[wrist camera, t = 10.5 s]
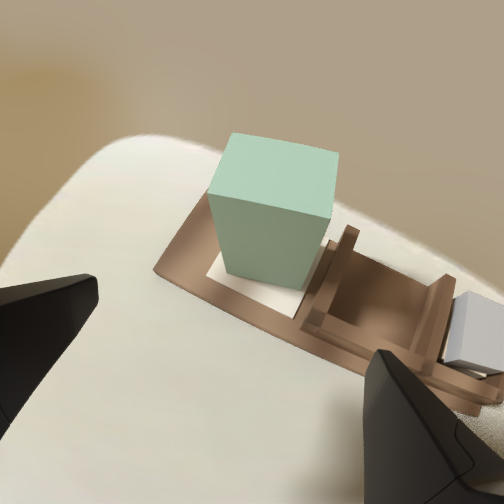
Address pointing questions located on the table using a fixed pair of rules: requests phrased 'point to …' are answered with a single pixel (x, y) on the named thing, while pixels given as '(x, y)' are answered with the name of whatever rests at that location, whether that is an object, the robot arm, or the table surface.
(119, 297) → the table surface
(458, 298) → the grey offcut slab
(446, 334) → the birch offcut slab
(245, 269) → the mint green block
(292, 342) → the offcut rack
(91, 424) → the table surface
